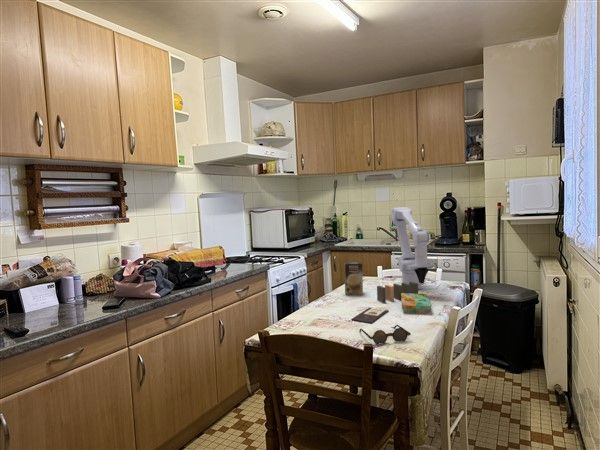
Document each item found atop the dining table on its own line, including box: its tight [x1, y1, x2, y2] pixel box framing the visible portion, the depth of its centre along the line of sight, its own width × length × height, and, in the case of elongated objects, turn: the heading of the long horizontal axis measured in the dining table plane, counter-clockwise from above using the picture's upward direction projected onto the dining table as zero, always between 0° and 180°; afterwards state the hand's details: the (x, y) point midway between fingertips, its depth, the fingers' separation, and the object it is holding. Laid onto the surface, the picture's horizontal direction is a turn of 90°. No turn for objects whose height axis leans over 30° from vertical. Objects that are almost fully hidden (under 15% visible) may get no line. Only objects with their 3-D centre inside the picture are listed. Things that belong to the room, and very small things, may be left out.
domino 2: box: [384, 283, 395, 302], centre depth 187 cm, size 2×5×7 cm, turn 19°
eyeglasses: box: [358, 324, 412, 345], centre depth 142 cm, size 15×15×5 cm
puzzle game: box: [400, 292, 432, 314], centre depth 174 cm, size 12×5×20 cm
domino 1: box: [376, 285, 387, 304], centre depth 185 cm, size 2×5×7 cm, turn 18°
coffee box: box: [344, 261, 364, 296], centre depth 201 cm, size 9×6×16 cm
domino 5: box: [409, 281, 419, 293], centre depth 191 cm, size 2×5×7 cm, turn 18°
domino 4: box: [400, 282, 410, 293], centre depth 189 cm, size 2×5×7 cm, turn 18°
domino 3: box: [392, 282, 402, 301], centre depth 188 cm, size 2×5×7 cm, turn 18°
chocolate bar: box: [350, 307, 389, 325], centre depth 165 cm, size 9×1×18 cm
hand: (421, 283), depth 192 cm, fingers closed
